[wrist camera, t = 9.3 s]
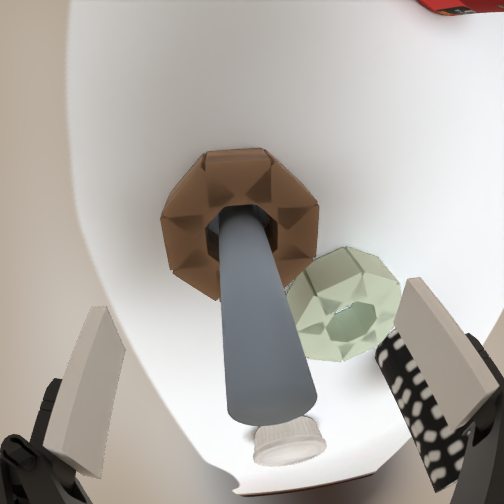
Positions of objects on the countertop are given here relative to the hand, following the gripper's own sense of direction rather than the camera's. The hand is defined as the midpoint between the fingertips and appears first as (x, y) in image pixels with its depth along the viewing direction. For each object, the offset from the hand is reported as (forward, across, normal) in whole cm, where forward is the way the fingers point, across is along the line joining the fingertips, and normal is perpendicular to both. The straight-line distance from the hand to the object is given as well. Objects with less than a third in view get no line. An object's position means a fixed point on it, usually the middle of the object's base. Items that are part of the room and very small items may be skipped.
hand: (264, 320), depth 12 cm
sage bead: (+12, +9, -10) cm, 17 cm away
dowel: (+12, 0, 0) cm, 12 cm away
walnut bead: (+12, 0, 0) cm, 12 cm away
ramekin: (+12, +5, -36) cm, 39 cm away
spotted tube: (+12, +20, -20) cm, 30 cm away
